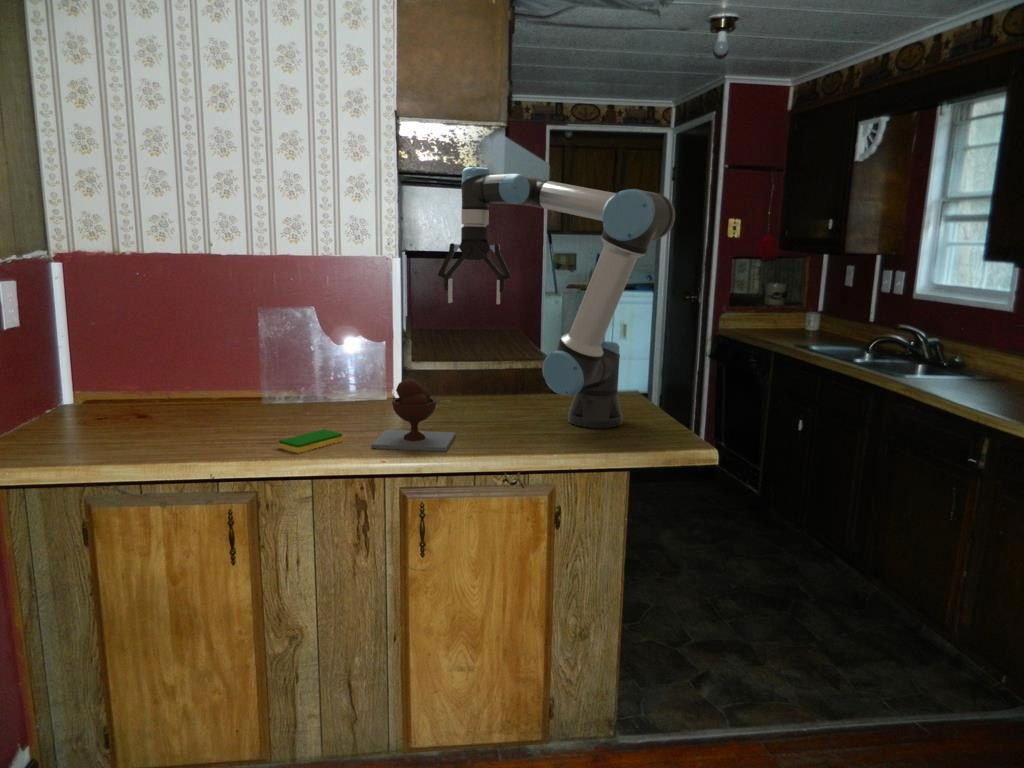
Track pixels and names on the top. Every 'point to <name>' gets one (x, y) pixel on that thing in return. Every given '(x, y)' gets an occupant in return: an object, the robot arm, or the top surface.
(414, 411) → the ice cream bowl
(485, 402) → the top surface
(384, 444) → the mat
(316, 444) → the dish sponge
